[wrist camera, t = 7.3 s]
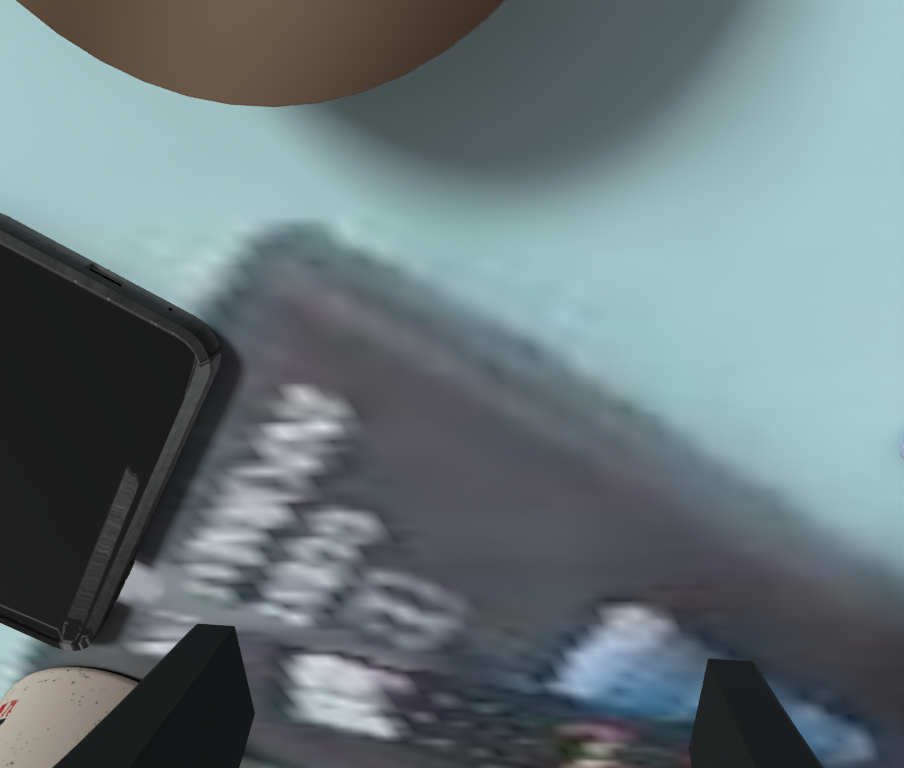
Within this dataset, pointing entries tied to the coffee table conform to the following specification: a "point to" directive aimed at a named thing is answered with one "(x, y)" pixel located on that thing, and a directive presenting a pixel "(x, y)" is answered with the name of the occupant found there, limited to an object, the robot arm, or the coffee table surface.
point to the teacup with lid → (55, 713)
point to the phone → (84, 429)
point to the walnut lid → (264, 42)
